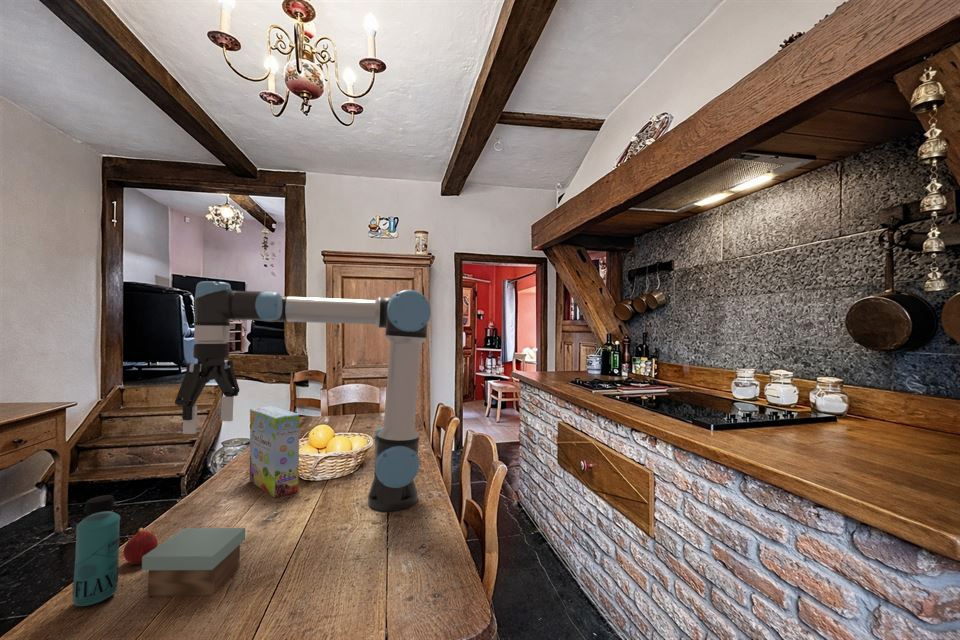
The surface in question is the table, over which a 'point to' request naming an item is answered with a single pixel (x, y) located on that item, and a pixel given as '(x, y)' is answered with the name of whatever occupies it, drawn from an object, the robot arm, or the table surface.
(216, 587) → the box
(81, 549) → the beverage bottle
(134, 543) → the onion
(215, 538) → the lid
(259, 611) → the table surface
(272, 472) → the snack box
